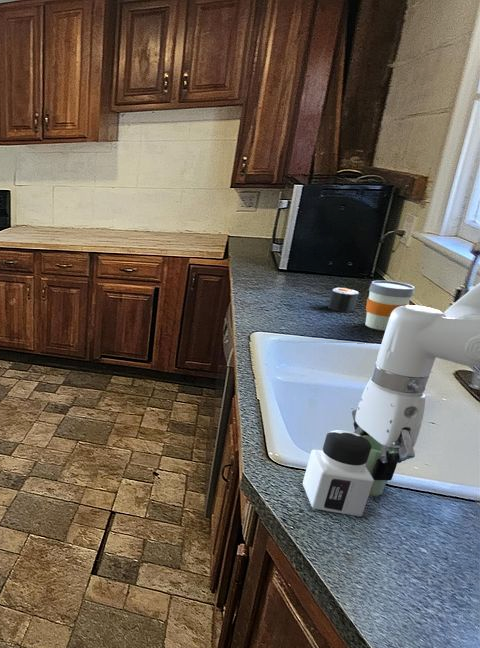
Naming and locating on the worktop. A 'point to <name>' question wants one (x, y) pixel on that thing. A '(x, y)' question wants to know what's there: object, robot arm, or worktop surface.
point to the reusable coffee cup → (385, 301)
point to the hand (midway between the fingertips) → (369, 467)
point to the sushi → (343, 299)
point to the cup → (371, 462)
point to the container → (339, 474)
